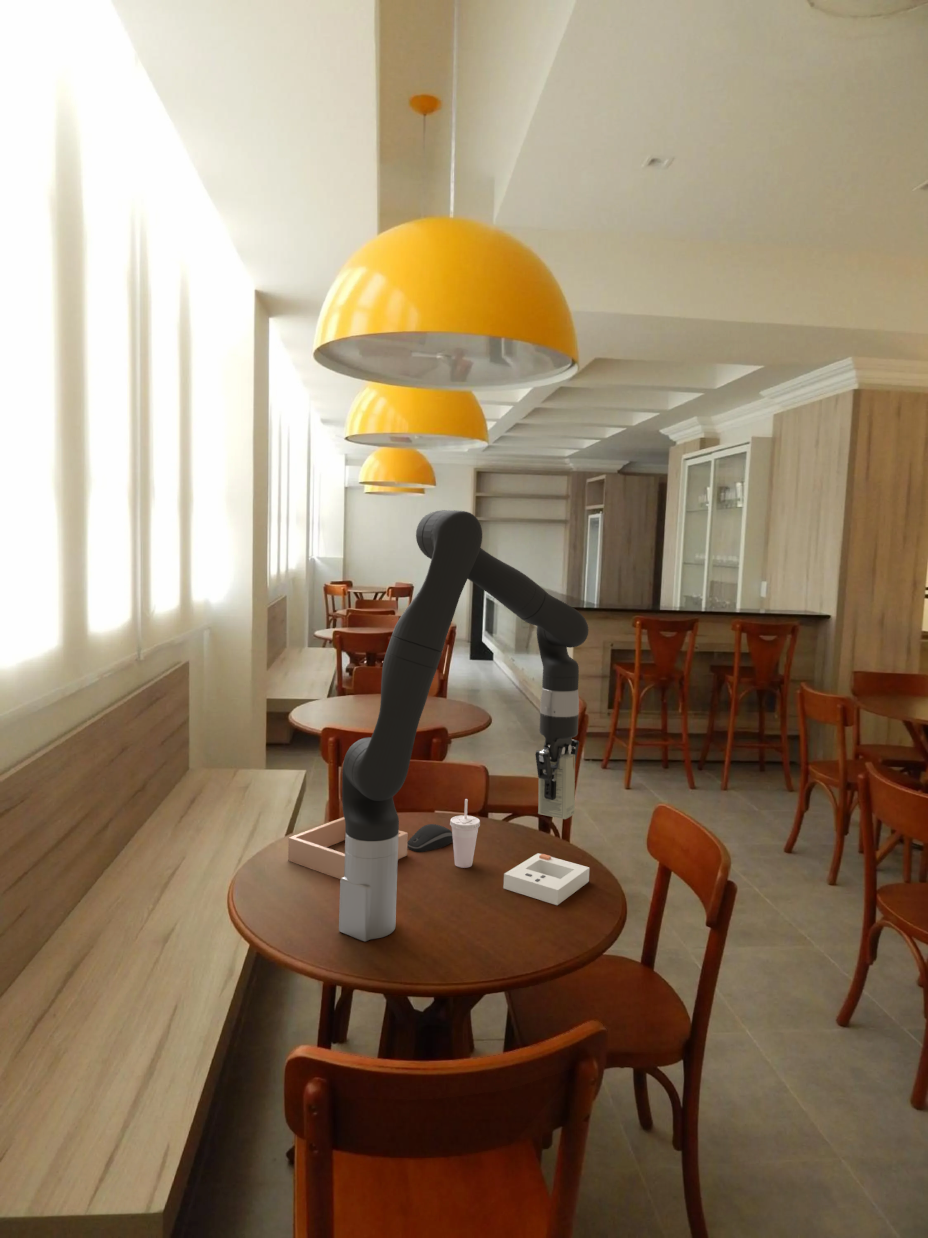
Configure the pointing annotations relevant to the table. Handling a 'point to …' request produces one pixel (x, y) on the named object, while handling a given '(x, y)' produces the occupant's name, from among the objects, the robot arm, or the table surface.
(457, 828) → the smoothie
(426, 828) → the computer mouse
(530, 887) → the socket board
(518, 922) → the table surface
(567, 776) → the skincare box
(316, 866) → the pink square tray
